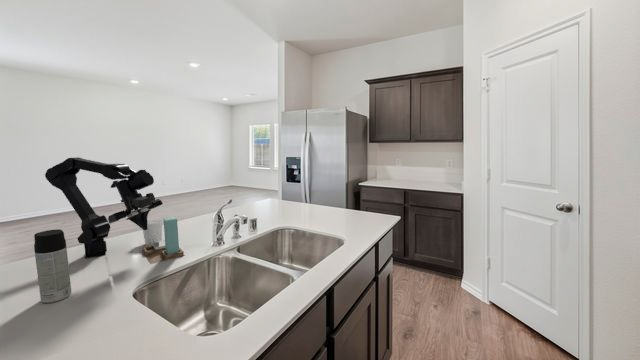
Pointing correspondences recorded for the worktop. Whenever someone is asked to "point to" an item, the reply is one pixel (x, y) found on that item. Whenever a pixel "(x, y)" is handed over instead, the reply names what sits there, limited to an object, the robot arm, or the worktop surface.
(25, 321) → the worktop surface
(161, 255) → the board
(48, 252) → the spray can
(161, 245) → the lid
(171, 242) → the block
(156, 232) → the white cup
